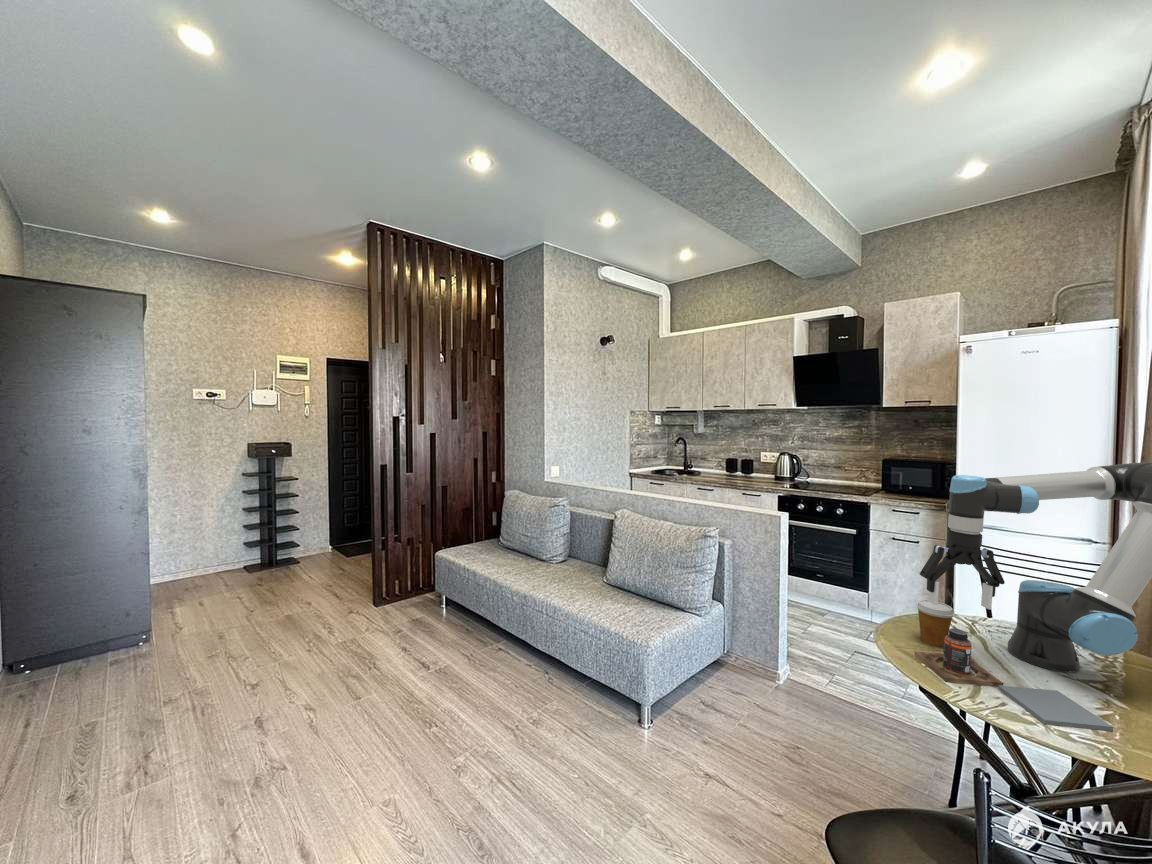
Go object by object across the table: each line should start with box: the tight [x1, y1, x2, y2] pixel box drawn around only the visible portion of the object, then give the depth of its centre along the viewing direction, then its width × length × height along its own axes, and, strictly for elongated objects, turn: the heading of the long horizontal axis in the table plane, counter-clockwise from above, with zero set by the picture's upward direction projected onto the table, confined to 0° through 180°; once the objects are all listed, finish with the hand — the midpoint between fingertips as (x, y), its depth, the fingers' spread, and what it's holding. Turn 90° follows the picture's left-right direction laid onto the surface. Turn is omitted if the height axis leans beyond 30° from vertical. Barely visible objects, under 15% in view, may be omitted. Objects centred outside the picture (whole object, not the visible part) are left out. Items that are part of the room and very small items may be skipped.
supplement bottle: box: [942, 627, 972, 675], centre depth 130 cm, size 6×6×11 cm
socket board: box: [914, 651, 1004, 688], centre depth 130 cm, size 14×14×1 cm
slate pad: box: [997, 685, 1114, 732], centre depth 113 cm, size 14×14×1 cm
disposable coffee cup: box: [915, 599, 955, 648], centre depth 146 cm, size 10×10×12 cm
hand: (959, 605), depth 129 cm, fingers open, 13 cm apart
